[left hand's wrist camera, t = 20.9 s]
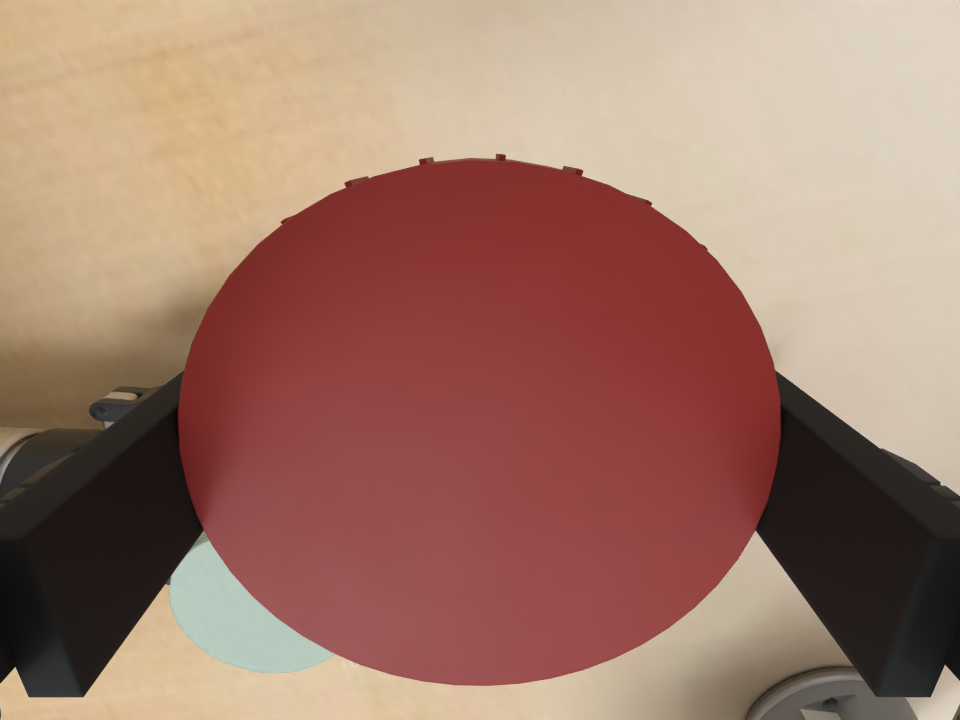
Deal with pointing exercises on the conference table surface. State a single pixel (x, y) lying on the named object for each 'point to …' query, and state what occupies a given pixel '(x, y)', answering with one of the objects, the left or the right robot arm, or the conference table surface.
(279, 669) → the jar
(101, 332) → the conference table surface
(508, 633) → the lid
